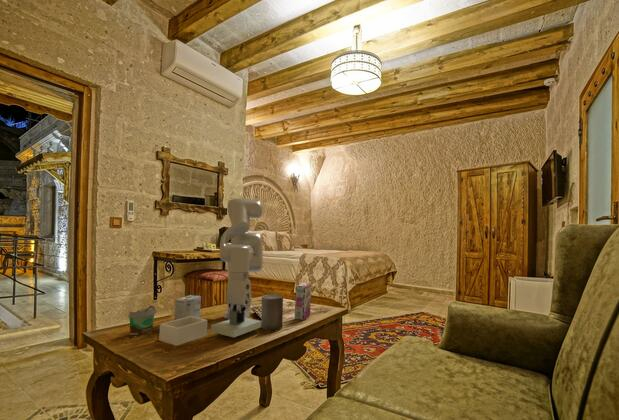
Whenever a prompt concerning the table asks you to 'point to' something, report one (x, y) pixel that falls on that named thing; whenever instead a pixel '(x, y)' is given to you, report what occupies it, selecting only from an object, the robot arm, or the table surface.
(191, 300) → the light bulb box
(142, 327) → the food container
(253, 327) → the lid
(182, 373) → the table surface
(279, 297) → the pillar candle
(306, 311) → the candy bar box
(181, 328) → the tub
